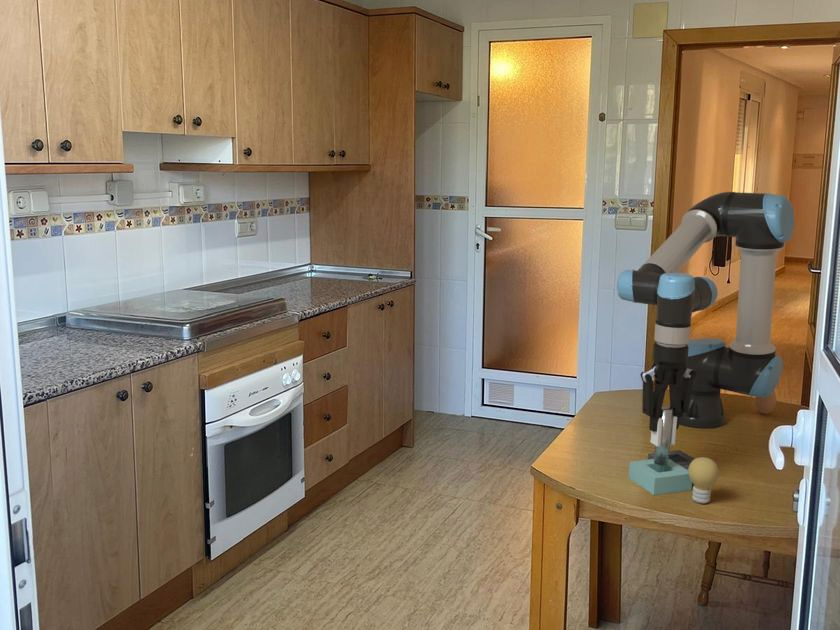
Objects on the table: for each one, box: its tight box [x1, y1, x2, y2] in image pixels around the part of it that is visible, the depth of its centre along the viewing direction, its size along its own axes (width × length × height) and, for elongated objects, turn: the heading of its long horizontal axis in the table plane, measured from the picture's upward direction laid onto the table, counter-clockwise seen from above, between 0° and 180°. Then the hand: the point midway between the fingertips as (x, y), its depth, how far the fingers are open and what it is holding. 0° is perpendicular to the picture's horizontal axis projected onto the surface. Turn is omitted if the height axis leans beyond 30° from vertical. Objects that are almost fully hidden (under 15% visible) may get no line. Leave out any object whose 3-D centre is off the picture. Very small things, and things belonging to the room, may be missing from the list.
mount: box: [647, 449, 695, 470], centre depth 201 cm, size 9×9×2 cm
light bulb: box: [688, 456, 720, 504], centre depth 182 cm, size 6×6×10 cm
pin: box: [653, 405, 673, 465], centre depth 190 cm, size 3×3×13 cm
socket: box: [628, 459, 693, 496], centre depth 192 cm, size 10×10×4 cm
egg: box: [754, 390, 777, 415], centre depth 243 cm, size 6×6×8 cm
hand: (662, 443), depth 190 cm, fingers closed on pin, 3 cm apart
